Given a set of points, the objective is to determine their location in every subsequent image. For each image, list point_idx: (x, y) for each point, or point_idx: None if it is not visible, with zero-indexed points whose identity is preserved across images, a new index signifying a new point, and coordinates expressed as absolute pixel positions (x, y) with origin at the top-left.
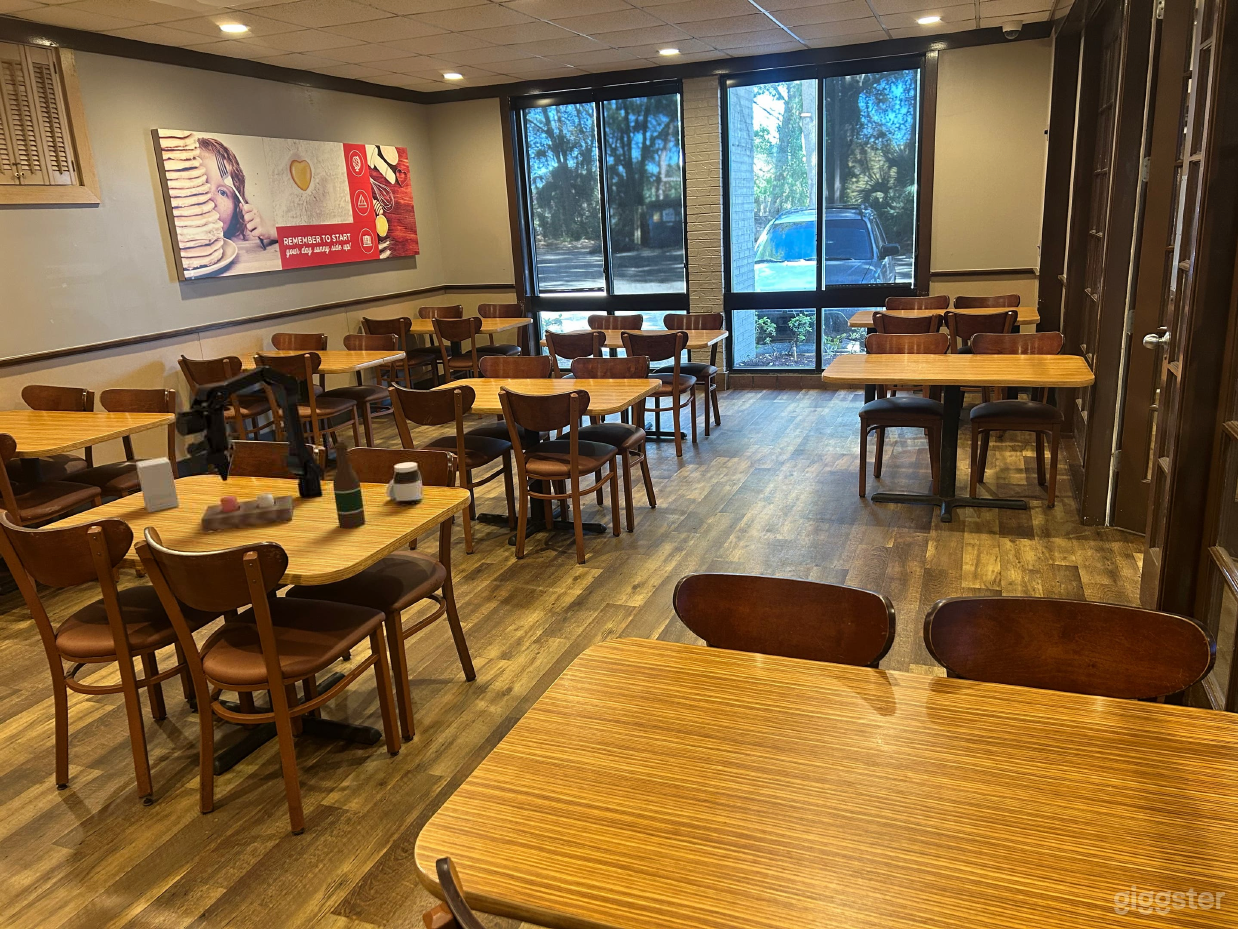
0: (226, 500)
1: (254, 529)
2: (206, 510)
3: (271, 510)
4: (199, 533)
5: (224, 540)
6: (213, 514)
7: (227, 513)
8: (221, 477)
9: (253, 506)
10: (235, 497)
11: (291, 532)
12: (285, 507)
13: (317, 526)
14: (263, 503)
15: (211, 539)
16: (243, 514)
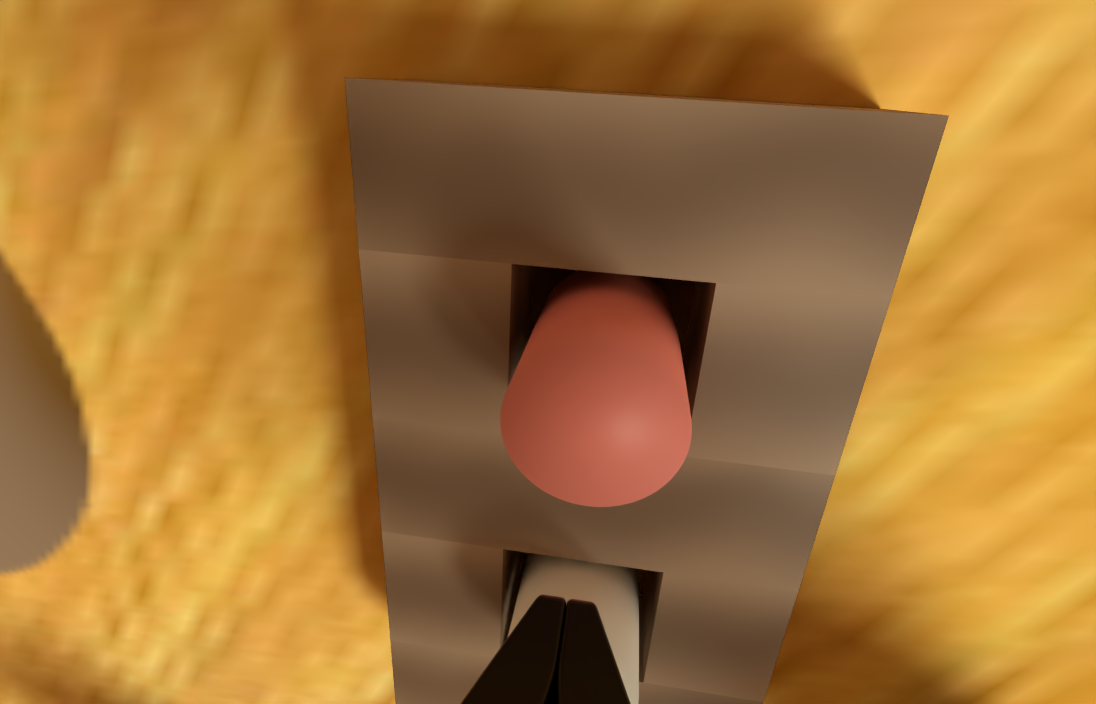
0: (502, 407)
1: (340, 446)
2: (726, 111)
3: (389, 625)
4: (408, 37)
5: (153, 259)
6: (495, 205)
7: (462, 339)
8: (496, 654)
9: (577, 540)
10: (573, 498)
11: (209, 601)
12: (419, 697)
13: (271, 700)
14: (511, 624)
15: (201, 161)
16: (378, 456)
